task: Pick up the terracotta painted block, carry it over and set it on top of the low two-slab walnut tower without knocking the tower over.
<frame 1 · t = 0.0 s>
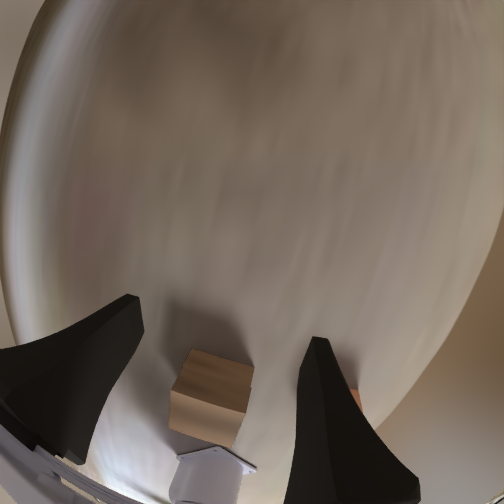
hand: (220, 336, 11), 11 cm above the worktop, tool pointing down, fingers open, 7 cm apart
tower base: (218, 377, 25), on the worktop, touching tower top
tower top: (211, 399, 23), point 3 cm above the worktop, touching tower base
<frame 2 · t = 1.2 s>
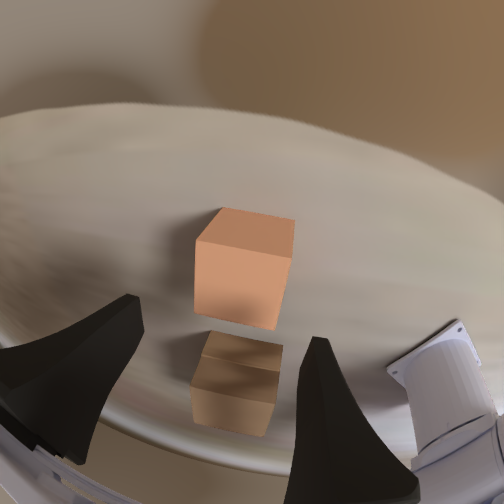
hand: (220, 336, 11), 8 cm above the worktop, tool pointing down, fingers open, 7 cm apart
terracotta block: (253, 245, 18), on the worktop
tower base: (243, 358, 24), on the worktop, touching tower top
tower top: (237, 386, 21), point 3 cm above the worktop, touching tower base
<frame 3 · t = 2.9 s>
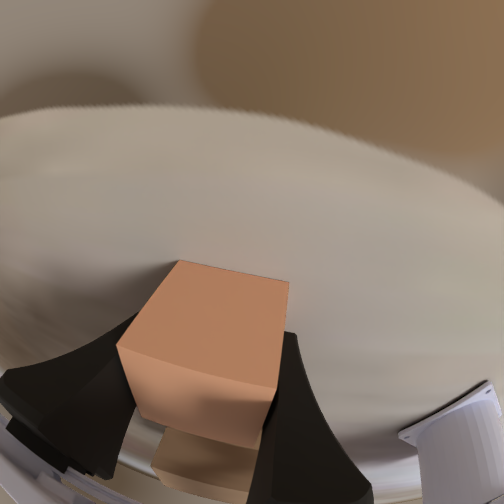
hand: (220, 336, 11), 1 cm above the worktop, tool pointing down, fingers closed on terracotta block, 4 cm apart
terracotta block: (228, 314, 12), on the worktop, touching gripper
tower top: (213, 455, 15), point 3 cm above the worktop, touching tower base
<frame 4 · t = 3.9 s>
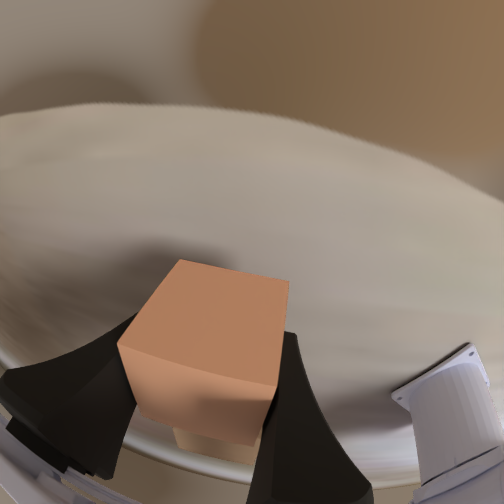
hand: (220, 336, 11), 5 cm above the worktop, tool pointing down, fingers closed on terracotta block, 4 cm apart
terracotta block: (228, 313, 12), point 4 cm above the worktop, touching gripper
tower top: (224, 412, 18), point 3 cm above the worktop, touching tower base
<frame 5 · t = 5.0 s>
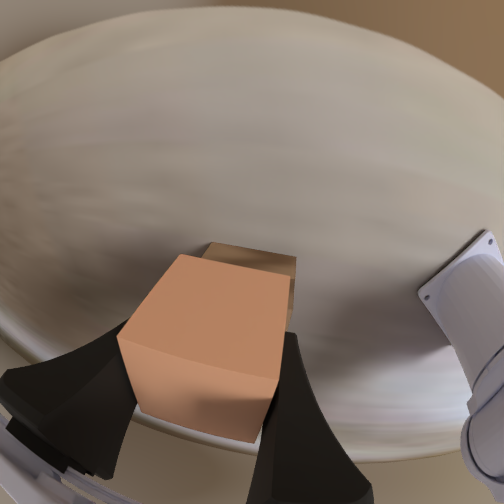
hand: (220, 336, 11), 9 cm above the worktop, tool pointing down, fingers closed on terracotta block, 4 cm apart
terracotta block: (229, 308, 12), point 8 cm above the worktop, touching gripper
tower base: (249, 283, 21), on the worktop, touching tower top
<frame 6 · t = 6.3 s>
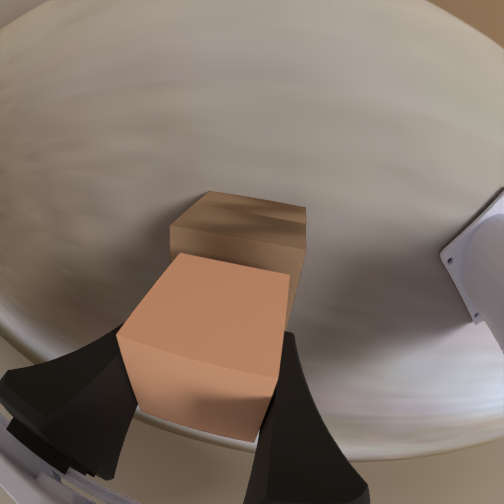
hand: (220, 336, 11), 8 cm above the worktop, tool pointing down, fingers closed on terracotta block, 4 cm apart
terracotta block: (228, 307, 12), point 7 cm above the worktop, touching gripper
tower base: (251, 240, 18), on the worktop
tower top: (242, 263, 16), point 3 cm above the worktop
when the fingers open (8 cm above the worktop, at t = 6.6 s): terracotta block drops 1 cm, resting on tower top.
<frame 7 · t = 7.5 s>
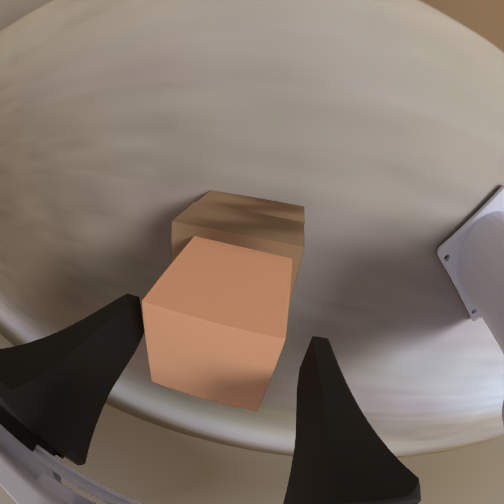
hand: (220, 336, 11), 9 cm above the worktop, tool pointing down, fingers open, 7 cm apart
terracotta block: (235, 288, 13), point 6 cm above the worktop, touching tower top
tower base: (250, 239, 19), on the worktop, touching tower top
tower top: (240, 259, 16), point 3 cm above the worktop, touching terracotta block, tower base
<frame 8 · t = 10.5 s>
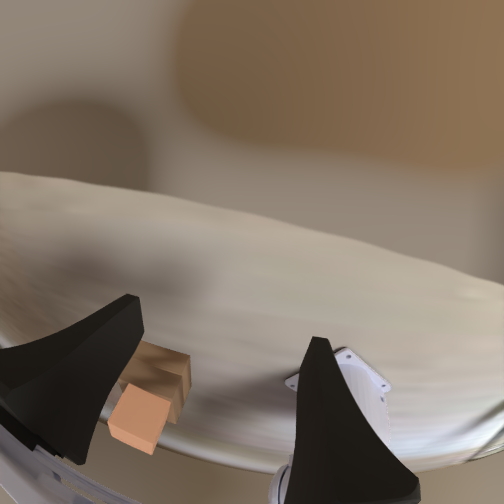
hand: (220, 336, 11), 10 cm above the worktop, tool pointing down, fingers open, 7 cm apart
terracotta block: (148, 402, 24), point 6 cm above the worktop, touching tower top
tower base: (167, 362, 29), on the worktop, touching tower top
tower top: (157, 382, 27), point 3 cm above the worktop, touching terracotta block, tower base
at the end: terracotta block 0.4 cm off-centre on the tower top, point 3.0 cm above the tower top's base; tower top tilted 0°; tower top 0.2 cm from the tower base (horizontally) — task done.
